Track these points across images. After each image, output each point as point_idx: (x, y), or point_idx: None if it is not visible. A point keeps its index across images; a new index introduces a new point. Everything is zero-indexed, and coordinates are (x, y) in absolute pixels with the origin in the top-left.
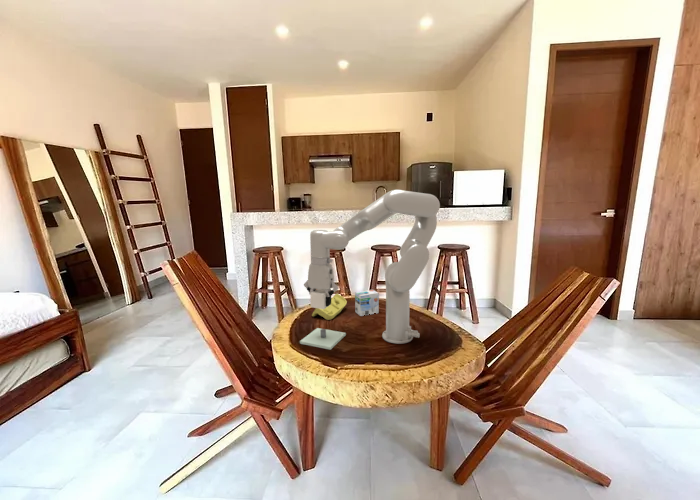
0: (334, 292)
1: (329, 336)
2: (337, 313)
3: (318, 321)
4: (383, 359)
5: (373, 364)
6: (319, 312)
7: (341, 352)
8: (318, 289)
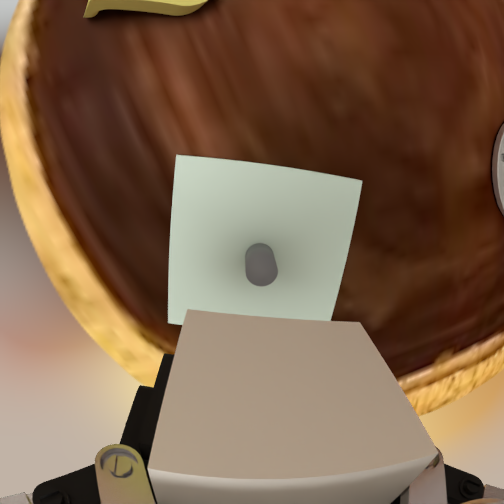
0: (469, 475)
1: (290, 244)
2: None
3: (140, 47)
4: (478, 326)
5: (453, 358)
6: (123, 5)
7: None
8: (184, 488)
